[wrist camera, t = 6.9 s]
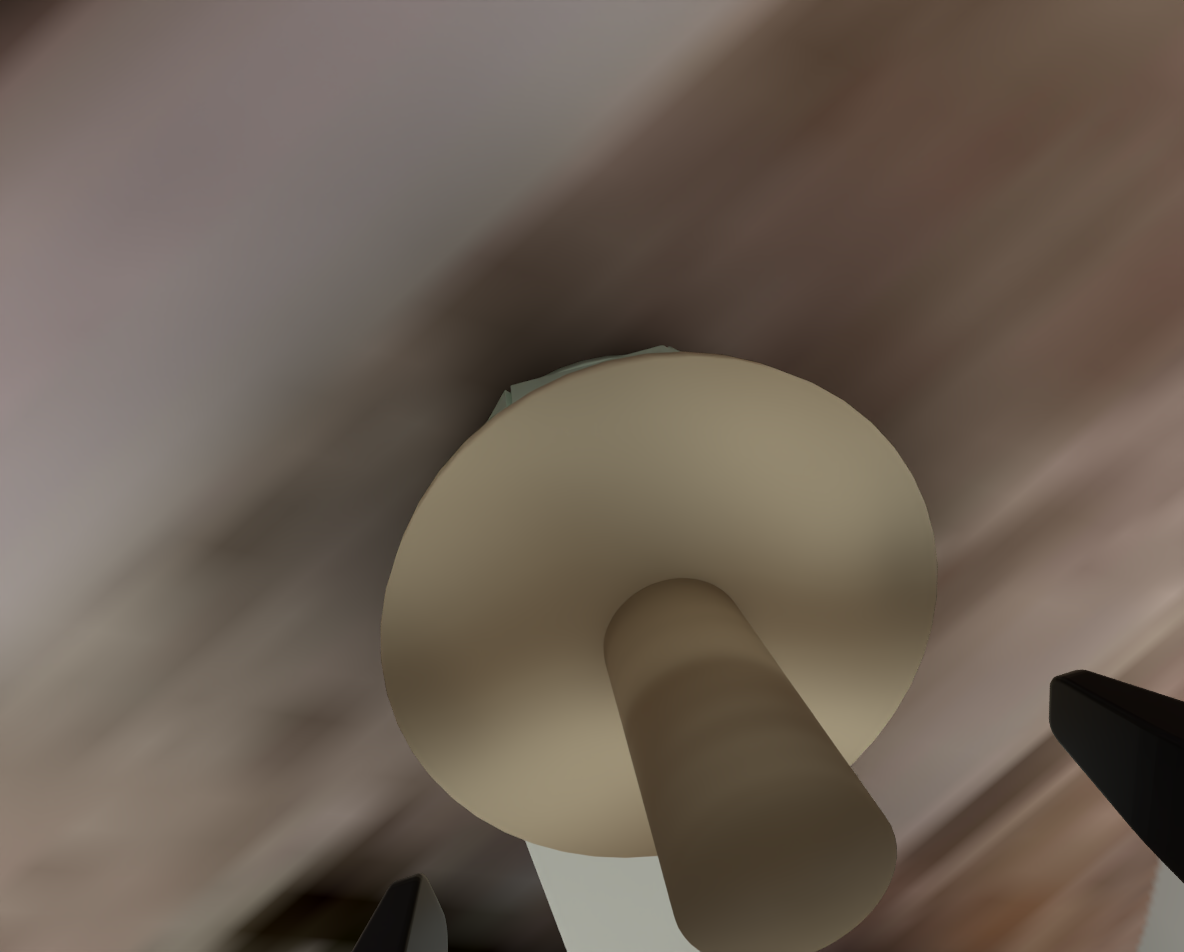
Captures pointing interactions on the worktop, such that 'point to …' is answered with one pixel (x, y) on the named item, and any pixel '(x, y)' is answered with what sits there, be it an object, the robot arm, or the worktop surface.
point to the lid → (672, 635)
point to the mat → (608, 902)
